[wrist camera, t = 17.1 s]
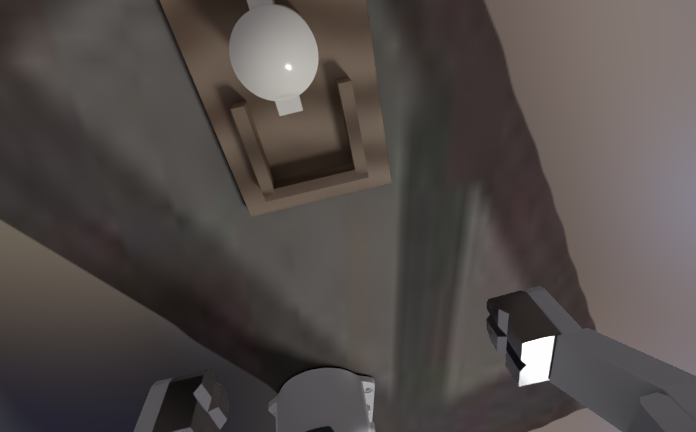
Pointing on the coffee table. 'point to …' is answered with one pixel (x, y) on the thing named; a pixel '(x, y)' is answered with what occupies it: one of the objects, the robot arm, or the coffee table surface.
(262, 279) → the coffee table surface
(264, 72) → the white capsule with handle
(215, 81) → the cradle board
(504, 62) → the coffee table surface
